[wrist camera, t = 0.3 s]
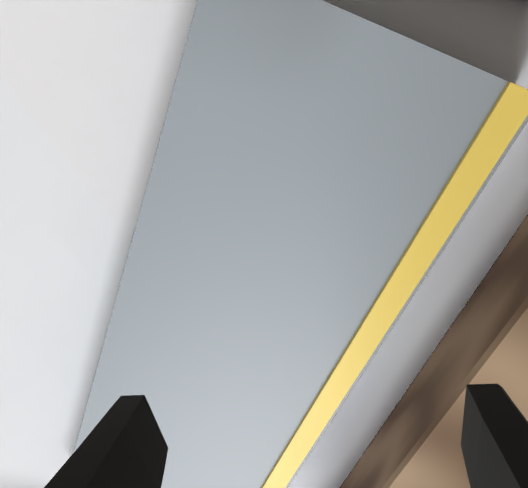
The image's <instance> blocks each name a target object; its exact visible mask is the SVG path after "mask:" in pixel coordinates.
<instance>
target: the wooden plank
mask: <svg viewBox="0 0 528 488" xmlns="http://www.w3.org/2000/svg"><path fill="white" fill-rule="evenodd" d="M497 383H498V384H499V385H500V386H502V387H503V389H504V390H505V391H506V393H507V394H508V396H509V397H510V398H511V400H512V401H513V402H514V404H515V405H516V407H517V408H518V409H519V411H520V412H521V413H522V415H523V416H524V417H525V419H526V420H527V421H528V215H527V216H526V218H525V219H524V221H523V222H522V224H521V225H520V227H519V228H518V229H517V231H516V232H515V234H514V235H513V237H512V238H511V240H510V241H509V243H508V244H507V245H506V247H505V248H504V250H503V251H502V253H501V254H500V256H499V257H498V259H497V260H496V261H495V263H494V264H493V266H492V267H491V269H490V270H489V272H488V273H487V275H486V276H485V277H484V279H483V280H482V282H481V283H480V285H479V286H478V288H477V289H476V291H475V292H474V293H473V295H472V296H471V298H470V299H469V301H468V302H467V304H466V305H465V307H464V308H463V309H462V311H461V312H460V314H459V315H458V317H457V318H456V320H455V321H454V323H453V324H452V325H451V327H450V328H449V330H448V331H447V333H446V334H445V336H444V337H443V339H442V340H441V342H440V343H439V344H438V346H437V347H436V349H435V350H434V352H433V353H432V355H431V356H430V358H429V359H428V360H427V362H426V363H425V365H424V366H423V368H422V369H421V371H420V372H419V374H418V375H417V376H416V378H415V379H414V381H413V382H412V384H411V385H410V387H409V388H408V390H407V391H406V392H405V394H404V395H403V397H402V398H401V400H400V401H399V403H398V404H397V406H396V407H395V408H394V410H393V411H392V413H391V414H390V416H389V417H388V419H387V420H386V422H385V423H384V424H383V426H382V427H381V429H380V430H379V432H378V433H377V435H376V436H375V438H374V439H373V440H372V442H371V443H370V445H369V446H368V448H367V449H366V451H365V452H364V454H363V455H362V456H361V458H360V459H359V461H358V462H357V464H356V465H355V467H354V468H353V470H352V471H351V473H350V474H349V475H348V477H347V478H346V480H345V481H344V483H343V484H342V486H341V487H340V488H470V483H469V479H468V475H467V471H466V466H465V462H464V457H463V453H462V448H461V436H462V426H463V415H464V405H465V394H466V384H497Z"/></svg>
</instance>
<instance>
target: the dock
mask: <svg viewBox="0 0 528 488" xmlns="http://www.w3.org/2000/svg"><path fill="white" fill-rule="evenodd" d="M527 121H528V89H525V88H523V87H521V86H518V85H516V84H514V83H511V82H509V81H506V80H504V79H502V78H499V77H497V76H495V75H493V74H490V73H488V72H486V71H483V70H481V69H479V68H477V67H474V66H472V65H470V64H467V63H465V62H463V61H461V60H458V59H456V58H454V57H451V56H449V55H447V54H444V53H442V52H440V51H438V50H435V49H433V48H431V47H428V46H426V45H424V44H422V43H419V42H417V41H415V40H412V39H410V38H408V37H406V36H403V35H401V34H399V33H396V32H394V31H392V30H389V29H387V28H385V27H383V26H380V25H378V24H376V23H373V22H371V21H369V20H367V19H364V18H362V17H360V16H357V15H355V14H353V13H350V12H348V11H346V10H344V9H341V8H339V7H337V6H334V5H332V4H330V3H328V2H325V1H323V0H198V1H197V5H196V8H195V12H194V16H193V19H192V23H191V27H190V30H189V34H188V38H187V41H186V45H185V49H184V52H183V56H182V59H181V63H180V67H179V70H178V74H177V78H176V81H175V85H174V89H173V92H172V96H171V100H170V103H169V107H168V111H167V114H166V118H165V121H164V125H163V129H162V132H161V136H160V140H159V143H158V147H157V151H156V154H155V158H154V162H153V165H152V169H151V173H150V176H149V180H148V183H147V187H146V191H145V194H144V198H143V202H142V205H141V209H140V213H139V216H138V220H137V224H136V227H135V231H134V234H133V238H132V242H131V245H130V249H129V253H128V256H127V260H126V264H125V267H124V271H123V275H122V278H121V282H120V286H119V289H118V293H117V296H116V300H115V304H114V307H113V311H112V315H111V318H110V322H109V326H108V329H107V333H106V337H105V340H104V344H103V348H102V351H101V355H100V358H99V362H98V366H97V369H96V373H95V377H94V380H93V384H92V388H91V391H90V395H89V399H88V402H87V406H86V410H85V413H84V417H83V420H82V424H81V428H80V431H79V435H78V439H77V442H76V446H75V450H74V452H75V451H76V449H77V448H78V447H79V446H80V445H81V443H82V442H83V441H84V440H85V439H86V437H87V436H88V435H89V434H90V432H91V431H92V430H93V429H94V428H95V426H96V425H97V424H98V423H99V421H100V420H101V419H102V418H103V416H104V415H105V414H106V413H107V412H108V410H109V409H110V408H111V407H112V406H113V404H114V403H115V402H116V401H117V400H118V399H119V397H120V396H125V395H145V397H146V399H147V401H148V403H149V406H150V408H151V410H152V412H153V415H154V417H155V419H156V421H157V424H158V426H159V428H160V430H161V433H162V435H163V437H164V439H165V441H166V444H167V446H168V453H167V459H166V464H165V470H164V475H163V480H162V485H161V488H288V487H289V485H290V484H291V482H292V481H293V479H294V478H295V476H296V475H297V473H298V471H299V470H300V468H301V467H302V465H303V464H304V462H305V461H306V459H307V458H308V456H309V455H310V453H311V452H312V450H313V449H314V447H315V445H316V444H317V442H318V441H319V439H320V438H321V436H322V435H323V433H324V432H325V430H326V429H327V427H328V426H329V424H330V423H331V421H332V419H333V418H334V416H335V415H336V413H337V412H338V410H339V409H340V407H341V406H342V404H343V403H344V401H345V400H346V398H347V397H348V395H349V393H350V392H351V390H352V389H353V387H354V386H355V384H356V383H357V381H358V380H359V378H360V377H361V375H362V374H363V372H364V371H365V369H366V368H367V366H368V364H369V363H370V361H371V360H372V358H373V357H374V355H375V354H376V352H377V351H378V349H379V348H380V346H381V345H382V343H383V342H384V340H385V338H386V337H387V335H388V334H389V332H390V331H391V329H392V328H393V326H394V325H395V323H396V322H397V320H398V319H399V317H400V316H401V314H402V312H403V311H404V309H405V308H406V306H407V305H408V303H409V302H410V300H411V299H412V297H413V296H414V294H415V293H416V291H417V290H418V288H419V286H420V285H421V283H422V282H423V280H424V279H425V277H426V276H427V274H428V273H429V271H430V270H431V268H432V267H433V265H434V264H435V262H436V260H437V259H438V257H439V256H440V254H441V253H442V251H443V250H444V248H445V247H446V245H447V244H448V242H449V241H450V239H451V238H452V236H453V234H454V233H455V231H456V230H457V228H458V227H459V225H460V224H461V222H462V221H463V219H464V218H465V216H466V215H467V213H468V212H469V210H470V208H471V207H472V205H473V204H474V202H475V201H476V199H477V198H478V196H479V195H480V193H481V192H482V190H483V189H484V187H485V186H486V184H487V183H488V181H489V179H490V178H491V176H492V175H493V173H494V172H495V170H496V169H497V167H498V166H499V164H500V163H501V161H502V160H503V158H504V157H505V155H506V153H507V152H508V150H509V149H510V147H511V146H512V144H513V143H514V141H515V140H516V138H517V137H518V135H519V134H520V132H521V131H522V129H523V127H524V126H525V124H526V123H527Z"/></svg>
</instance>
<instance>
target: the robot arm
mask: <svg viewBox="0 0 528 488" xmlns="http://www.w3.org/2000/svg"><path fill="white" fill-rule="evenodd" d="M461 448H462V453H463V457H464V462H465V466H466V471H467V475H468V479H469V483H470V488H528V421H527V420H526V419H525V417H524V416H523V415H522V413H521V412H520V411H519V409H518V408H517V407H516V405H515V404H514V402H513V401H512V400H511V398H510V397H509V396H508V394H507V393H506V391H505V390H504V389H503V387H502V386H500V385H499V384H498V383H497V384H466V394H465V405H464V415H463V426H462V436H461ZM167 453H168V446H167V444H166V441H165V439H164V437H163V435H162V433H161V430H160V428H159V426H158V424H157V421H156V419H155V417H154V415H153V412H152V410H151V408H150V406H149V403H148V401H147V399H146V397H145V395H125V396H120V397H119V399H118V400H117V401H116V402H115V403H114V404H113V406H112V407H111V408H110V409H109V410H108V412H107V413H106V414H105V415H104V416H103V418H102V419H101V420H100V421H99V423H98V424H97V425H96V426H95V428H94V429H93V430H92V431H91V432H90V434H89V435H88V436H87V437H86V439H85V440H84V441H83V442H82V443H81V445H80V446H79V447H78V448H77V449H76V451H75V452H74V453H73V454H72V456H71V457H70V458H69V459H68V460H67V461H66V463H65V464H64V465H63V466H62V467H61V469H60V470H59V471H58V472H57V473H56V474H55V476H54V477H53V478H52V479H51V480H50V482H49V483H48V484H47V485H46V486H45V487H44V488H161V485H162V480H163V475H164V470H165V464H166V459H167Z"/></svg>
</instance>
